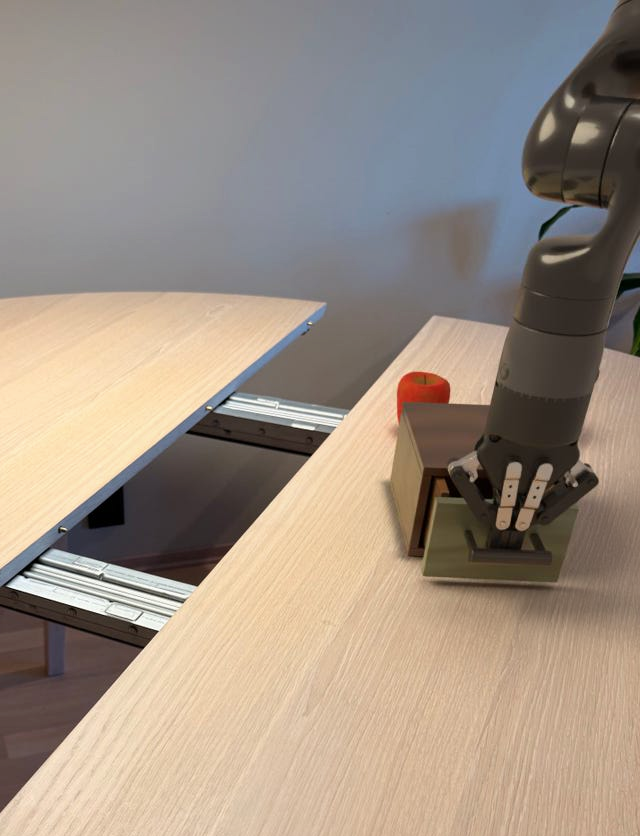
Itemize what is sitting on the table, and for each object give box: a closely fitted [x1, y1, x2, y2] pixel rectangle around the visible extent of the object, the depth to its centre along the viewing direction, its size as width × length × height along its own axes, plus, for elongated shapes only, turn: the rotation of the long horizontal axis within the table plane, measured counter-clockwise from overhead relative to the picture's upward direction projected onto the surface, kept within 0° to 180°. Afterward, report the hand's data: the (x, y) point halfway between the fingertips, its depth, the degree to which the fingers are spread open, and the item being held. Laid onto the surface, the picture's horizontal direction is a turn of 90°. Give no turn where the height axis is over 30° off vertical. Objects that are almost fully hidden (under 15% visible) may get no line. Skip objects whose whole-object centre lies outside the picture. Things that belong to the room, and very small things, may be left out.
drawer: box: [420, 476, 580, 584], centre depth 95 cm, size 19×13×8 cm, turn 176°
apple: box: [396, 371, 451, 424], centre depth 120 cm, size 6×6×8 cm
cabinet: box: [389, 402, 563, 557], centre depth 102 cm, size 16×14×10 cm
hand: (499, 560), depth 89 cm, fingers closed
